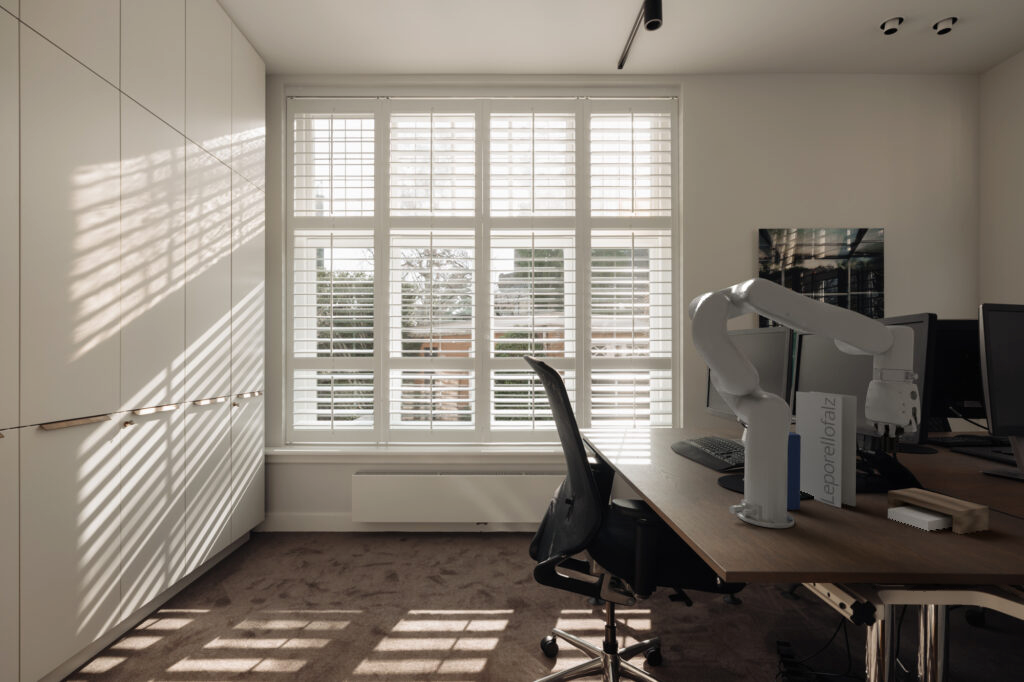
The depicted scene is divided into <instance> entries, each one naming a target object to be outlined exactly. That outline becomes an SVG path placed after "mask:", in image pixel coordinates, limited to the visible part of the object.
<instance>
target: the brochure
mask: <svg viewBox="0 0 1024 682" xmlns="http://www.w3.org/2000/svg"><path fill="white" fill-rule="evenodd" d="M795 392H796V393H795V395H796V396H795V399H796V400H795V434H799V435H800V436H801V461H800V491H802V492H805V493H808V494H810V495H812V496H814V499H813V500H815V501H818V502H820V503H824V504H828V505H829V506H833V507H837V508H838V507H839V509H842V505H846V504H847V505H846V506H851V507H856V486H857V485H856V483H857V482H856V481H857V479H856V478H857V477H856V475H857V469H856V467H857V464H856V463H857V405H858V404H857V400H858V399H857V396H856V395H848V394H847V395H846V394H839V393H827V392H820V391H811V390H810V391H809V392H807V391H806V392H805V391H804V392H803V391H795ZM842 503H843V504H842Z"/></svg>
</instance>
